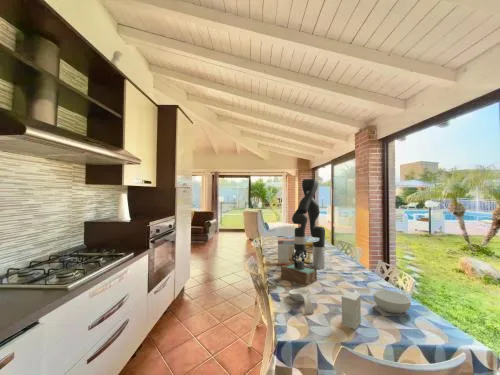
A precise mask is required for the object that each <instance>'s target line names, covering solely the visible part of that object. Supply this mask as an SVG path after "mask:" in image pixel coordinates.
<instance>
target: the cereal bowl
mask: <svg viewBox="0 0 500 375" xmlns="http://www.w3.org/2000/svg"><path fill="white" fill-rule="evenodd" d="M373 300H374V302H375V304H376V305H377V306H378V307H380V308H381V309H383V310H384V311H386V312H388V313H391V314H399V313H405V312H408V310H410V308H411V302H412V300H411V299H410V298H409V296H407V295H405V294H402V293H400V292H397V291H393V290H387V289H378V290H375V291H374V292H373Z"/></svg>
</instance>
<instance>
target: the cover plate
mask: <svg viewBox="0 0 500 375" xmlns="http://www.w3.org/2000/svg"><path fill="white" fill-rule="evenodd" d="M305 262H306V261H305ZM305 262H303V261H301V260H300V259H299V260H298V267H297V268H296V267H294V264H292V265H290V266H287V267H288V268H291V269H295V270H299V271H302V272H306V273H307V275H308V274H310V273H312V272H315V270H313V269H310V268H306V267H305V266H306V265H305V264H306V263H305Z"/></svg>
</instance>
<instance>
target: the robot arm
mask: <svg viewBox="0 0 500 375" xmlns="http://www.w3.org/2000/svg"><path fill="white" fill-rule="evenodd" d="M318 185H319V182H318V180H317V179H316V178H305V179H303V180H302V182H301V187H302V191H303V196H304V197H302V198H301V200H300V201H299V204H298V207H297V209H296V210H295V211H294V213H293V215H292V218H291V221H292V223H293V224H295V225H300V226H299V227H295V228H294V238H293V239H294V252H293V253H292V261H294V267H296V268H297V267H298V260H299V261H303V262H306V259H307V254H308V253H307V250H306V237H305V236H306V226H307V224H308V220H309V230H310V235H311V237H312V238H314V239H318V240H317V241H313V242H312V268H316V269H317V270H323V269H325V266H326V264H325V261H326V260H325V258H326V257H325V243H326V242H325V241H326V239H325V238H326V229H325V227H323V226H316V221H317V219H318V218H319V216H320V212H321V211H320V206H319V204H318V202H317V201H316V199H315V198H314V197H315V194H316V192H317V190H318ZM306 214H307V215H306ZM300 259H301V260H300Z"/></svg>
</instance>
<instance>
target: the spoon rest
mask: <svg viewBox="0 0 500 375" xmlns="http://www.w3.org/2000/svg"><path fill="white" fill-rule="evenodd" d="M288 295H289V296H290V297H291V299H292V300H294V301H296V302H304V314H305V315H312V314H314V313H315V312H314V306H313V303H312V301H311V298H310V291H308V290H305V289H301V288H300V289H298V288H297V289H290V290H289V291H288Z"/></svg>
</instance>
